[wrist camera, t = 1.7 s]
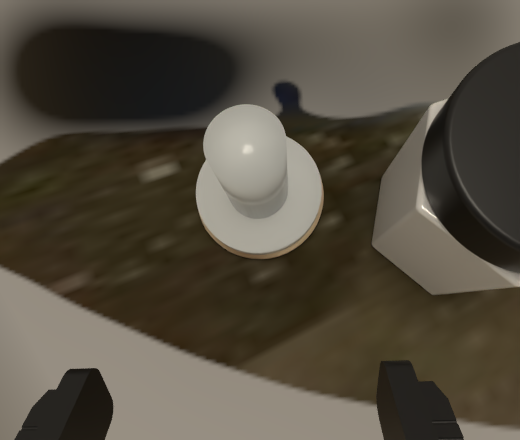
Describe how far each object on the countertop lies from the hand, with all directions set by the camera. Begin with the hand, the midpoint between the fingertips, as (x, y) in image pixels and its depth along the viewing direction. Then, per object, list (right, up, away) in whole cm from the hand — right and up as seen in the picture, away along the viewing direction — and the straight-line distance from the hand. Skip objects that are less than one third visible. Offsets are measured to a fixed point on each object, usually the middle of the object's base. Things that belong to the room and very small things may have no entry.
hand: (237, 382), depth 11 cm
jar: (+12, +4, +13) cm, 18 cm away
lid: (+1, +6, +14) cm, 15 cm away
